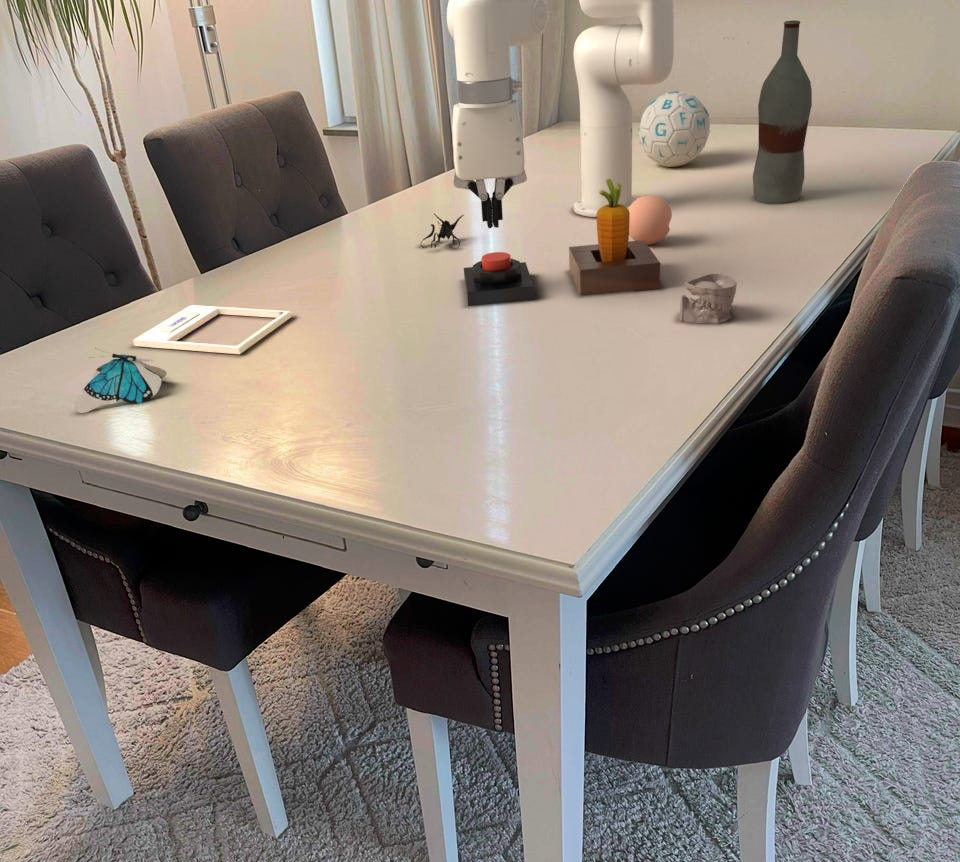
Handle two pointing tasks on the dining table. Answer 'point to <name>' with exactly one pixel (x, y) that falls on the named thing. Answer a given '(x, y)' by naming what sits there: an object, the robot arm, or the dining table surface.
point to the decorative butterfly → (121, 383)
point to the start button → (496, 261)
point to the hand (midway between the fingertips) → (492, 225)
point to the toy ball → (649, 219)
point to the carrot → (613, 226)
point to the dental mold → (708, 299)
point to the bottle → (783, 125)
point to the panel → (498, 284)
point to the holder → (614, 270)
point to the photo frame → (198, 315)
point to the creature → (443, 232)
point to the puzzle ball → (674, 129)
